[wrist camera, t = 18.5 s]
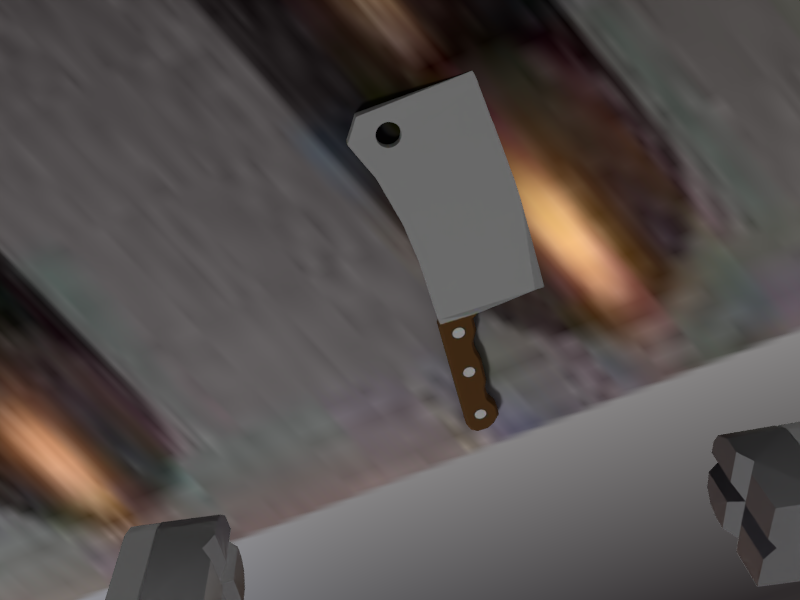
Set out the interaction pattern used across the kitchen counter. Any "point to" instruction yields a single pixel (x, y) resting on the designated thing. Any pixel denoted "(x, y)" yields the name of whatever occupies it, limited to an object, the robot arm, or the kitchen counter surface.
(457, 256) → the kitchen cleaver
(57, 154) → the kitchen counter surface
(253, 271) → the kitchen counter surface
